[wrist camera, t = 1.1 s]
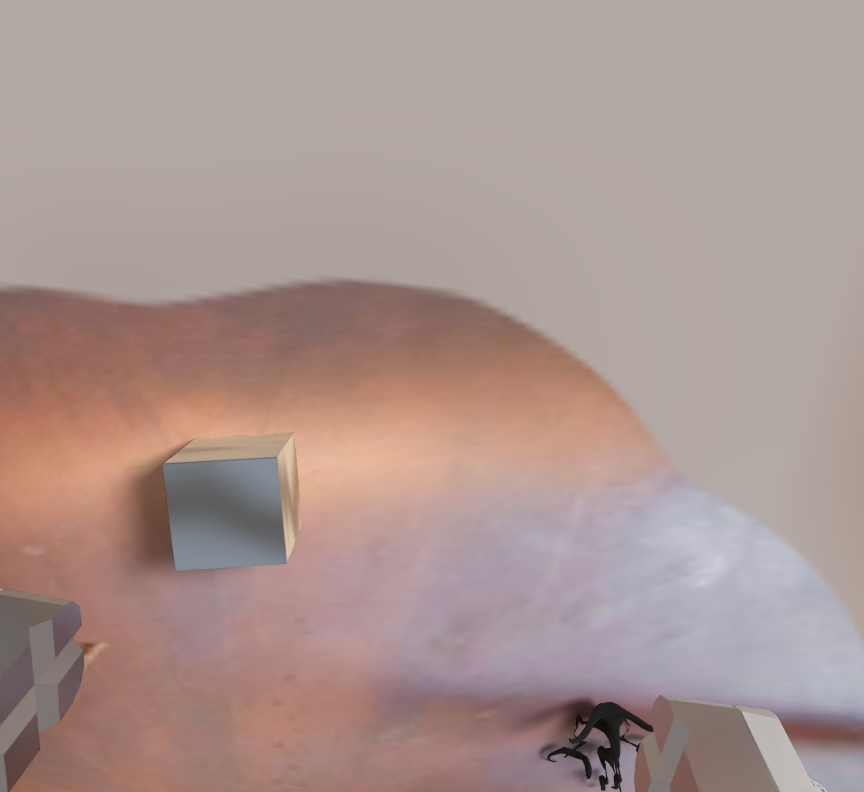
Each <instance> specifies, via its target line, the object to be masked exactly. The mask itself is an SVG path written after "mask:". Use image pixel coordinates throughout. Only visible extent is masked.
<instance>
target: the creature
mask: <svg viewBox="0 0 864 792" xmlns="http://www.w3.org/2000/svg"><path fill="white" fill-rule="evenodd" d="M626 719H629V720H631V721H632V722H634V723H635V724H637V725H638V726H640V727H641V728H643V729H645V730H647V731H650V732H654V730H653V727H652V726H651V725H648V724H647V723H645V722H644V721H643V720H641V719H640V718H638V717H637V716H635V715H633V714H632V713H630V712H628V711H626V710H625V709H623V708H622V707H621V706H619V705H618V704H615V703H613V702H606V703H600V704H598V705H597V707H596V708H595V709H594V711H593V713H592V715H591V716H590V718H589V720H588V721H583V720H582V718H581V717H580V716H577V718H576V729H577V728H578V723H579V721H580V723H581V724H582V725H584V724H586V726H585V728H584V729H583V731H582V732H581V733H580V735H579V736H577V737H576V736H575V737H576V738H574V739H570V738H569V741H570V743H572V744H574V743H578V742H580V744H579V745H578V746H577V747H576V748H575V749H570V748H566V747H563V748H561V749H558V750H556V751H554V752H552V753H550V754H549V755H548V757H547V759H548V760H549V761H552V760H550V756H553V755H556V754H560V753H562V754H567V755H566V756H565V757H564V758H566V757H567V756H568V755H569V756H572V757H575V758H578V759H581V760H582V761H583V763H584V765H585V771H586V776H587V779H590V778H591V775H592V768H591V764H590V761H589V759H588V757H587V756H585V755H583V754H582V753H581V752H578V751H576V749H577V748H579V747H580V746H582V745H584V744H585V743H586V742H583V741H582V740H584V739H585V738H586V737H587V736H588V734H589V733H590V731H591V729H592V728H593V727H594V728H597V729H599V730H601V731H602V732H603V733H605V735H606V736H607V738H608V739H609V742H610V745H611V747H610V748H604V747H603V746H600V747H599V748H598V750H597V753H598V756H599V759H600V761H601V764H602V766H603V768H604V769H605V772H606V764H605V761H607V762H608V763H609V764H610V765H611V767H612V768H613V771H614V773H615V770H614V763H615V769H616V773H617V774H615V775H614V785H615V787H614V786H612V787H611V788H614V789H618V788H619V789H620V792H621V787H619V786H620V783H621V782H622V778H621V775H620V770H619V766H620V765H619V757H620V740H622V741H625V742H627V743H630V744H632V745H634V746H635V747H637V749H636V751H637V753H638V749H639V746H640V743H639V744H638V746H637V745H635V744H633V743H631V742H629V741H627V740H626V739H624V735H625V734H624V735H623V736H622V737H620V735H619V728H620V726H621V724H622V722H623V720H625V721H626V722H627V720H626ZM627 724H628V725H629V728H630V724H629V723H628V722H627ZM576 729H575V730H574V732H575V731H576ZM628 730H629V729H628ZM627 732H628V731H627ZM574 735H575V734H574ZM552 762H556V761H552ZM617 768H618V771H619V774H618V772H617ZM599 781H600V785H601V790H602V791H604V790H605V784H606V785H607V784H608V777H607V773H606V778H605V777H604V776H603V775H601V776H599Z"/></svg>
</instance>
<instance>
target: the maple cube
mask: <svg viewBox="0 0 864 792" xmlns="http://www.w3.org/2000/svg"><path fill="white" fill-rule="evenodd" d="M162 466H163V474H164V482H165V490H166V498H167V506H168V514H169V523H170V531H171V539H172V547H173V555H174V563H175V571H180V570H197V569H213V568H230V567H246V566H263V565H279V564H286V563H287V561H288V558H289V556H290V553H291V551H292V548H293V546H294V543H295V541H296V538H297V536H298V534H299V531H300V529H301V526H302V517H301V506H300V494H299V483H298V471H297V460H296V448H295V437H294V432H292V433H274V434H255V435H237V436H219V437H201V438H195V439H194V440H193V441H191V442H190V443H189V444H188V445H186V446H185V447H184V448H183V449H181V450H180V451H179V452H178V453H176V454H175V455H174V456H173V457H171V458H170V459H169V460H168V461H166V462H165V463H164V464H163V465H162Z"/></svg>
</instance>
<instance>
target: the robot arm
mask: <svg viewBox="0 0 864 792" xmlns="http://www.w3.org/2000/svg"><path fill="white" fill-rule="evenodd" d="M81 626H82V622H81V613H80V606H79V605H77V604H76V603H74V602H73V601H68V600H63V599H57V598H52V597H46V596H41V595H35V594H30V593H25V592H19V591H14V590H8V589H4V590H3V589H0V792H10V790H11V789H12V787H13V786H14V785H15V783H16V782H17V781H18V779H19V778H20V776H21V775H22V774H23V772H24V771H25V769H26V768H27V767H28V765H29V764H30V763H31V761H32V760H33V758H34V757H35V756H36V754H37V753H38V751H39V750H40V743H39V733H40V732H42V731H44V730H46V729H47V728H49V727H51V726H53V725H55V724H56V723H58V722H60V721H61V719H62V718H63V716H64V715H65V713H66V712H67V710H68V709H69V708H70V706H71V705H72V703H73V700H74V698H75V695H76V693H77V691H78V688H79V686H80V683H81V679H82V673H83V667H84V656H83V650H82V649H81V647H80V646H79V645H78V644H77V642H76V641H75V640H74V638H73V636H74V635H75V633H76V632H77V631H78V630H79V628H80V627H81ZM649 716H650V720H651V723H652V727H653V730H654V732H652V733H651V734H649V735H648V736H646V737H645V738H643V739H642V740H641V742H640V746H639V749H638V753H637V756H636V762H635V776H634V783H635V792H816V790H815V788H814V786H813V784H812V783H811V781H810V779H809V777H808V775H807V773H806V771H805V769H804V767H803V765H802V763H801V761H800V759H799V758H798V756H797V754H796V752H795V750H794V748H793V746H792V744H791V742H790V740H789V738H788V736H787V734H786V733H785V731H784V729H783V727H782V725H781V723H780V721H779V719H778V717H777V716H776V715H775V714H774V713H772V712H771V711H770V710H764V709H757V708H750V707H743V706H736V705H733V706H730V705H725V704H719V703H712V702H705V701H699V700H692V699H685V698H679V697H672V696H666V695H660V696H659V697H658V698H657V699H656V700H655V702H654V704H653V707H652V710H651V713H650V715H649Z"/></svg>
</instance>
